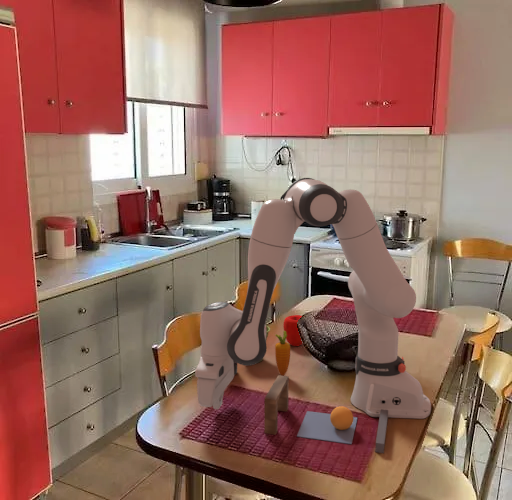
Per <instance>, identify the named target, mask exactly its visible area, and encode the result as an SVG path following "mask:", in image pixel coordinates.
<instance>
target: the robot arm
mask: <svg viewBox="0 0 512 500" xmlns="http://www.w3.org/2000/svg"><path fill="white" fill-rule="evenodd" d="M304 222H306V224H309V225H311V226H314V227H325V226H329V225H332V227H333V228H334V232H335V234H336V236H337V237H336V238H337V239H338V241H339V244H340V247H341V250H342V251H343V254H344V257H345V260H346V262H347V263H348V266H350V267H351V269H352V271H351V272H350V274H349V277H348V280H347V286H348V289H349V292H350V294H351V296H352V299H353V304H354V310H355V314H356V321H357V328H358V329H357V331H358V332H357V333H358V336H357V337H358V340H357V342H358V345H357V353H356V356H355V374H356V375H355V381H354V386H353V390H352V393H351V397H350V403H351V404H352V405H353V406H354V407H356V408H357V409H359V410H361V411H363V412H365V414H367V415H368V416H369V417H372V418H380V411H381V409H383V410H388V418H396V419H397V418H398V419H399V418H400V419H418V420H419V419H426V418H428V417H429V416H430V415H431V412H432V405H431V400H430V398H429V397H428V396H427V395H425V394H424V390H423V387H422V385H421V383H420V381H419V380H418V379H417V378H415V377H414V376H413V375H412V374H411V373H409V372H408V371H407V369H406V368H407V366H406V364H405V359H404V357H403V356H401V357H400V355H398V354H399V353H398V352H399V351H398V349H399V334H400V333H399V329H398V326H397V324H396V322H395V319H401V318H404V317H407V316H408V315H410V314H411V312H412V311H413V310H414V308H415V307H416V303H417V293H416V292H415V290H414V287H412V286H411V284H410V283H408V281H407V280H406V277H404V275H403V273H402V271H401V270H400V268H399V266H398V265H397V263H396V261H395V260H394V258H393V256H392V255H391V253H390V252H389V250H388V248H387V245H386V244H385V241H384V239H383V236H382V234H381V230H380V228H379V226H378V223H377V219H376V217H375V215H374V213H373V210H372V209H371V206H370V205H369V202H367V200H366V198H365V197H364V195H363V194H362V193H361V192H360V191H359V190H357V189H351V188H350V189H344V190H341V191H339V192H338V191H337V190H336V189H334V188H333V186H332V187H331V186H330V185H328V184H326V183H325V182H324V181H321V180H317V179H314V178H310V177H303V178H299V179H296V180H295V181H294V182H292V184H290V185H289V187H288V188H287V189H286V191H285V192H284V193H283V194H282V195H281V196H280V199H279V198H272V199H268V200H266V201H265V202H264V203H263V204H262V205H261V206H260V209H259V211H258V214H257V216H256V218H255V221H254V225H253V228H252V230H251V236H250V239H249V244H248V251H247V254H248V255H247V278H248V279H247V290H246V291H247V292H246V296H245V300H244V306H243V309H242V310H241V309H238V308H236V307H234V306H233V305H231V304H230V303H229V302H226V301H216V302H213V303H212V302H211V303H210V304H208V305H206V306H205V307H204V308H203V309H202V310H201V314H200V321H199V322H200V325H199V327H200V328H199V336H200V339H201V345H200V346H201V347H200V357H199V360H198V361H199V362H198V364H197V366H196V368H195V371H194V372H195V373H194V374H195V377H196V378H197V380H196V388H197V389H196V391H197V402H198V404H199V406H201V407H204V408H213V409H214V410H219V409H220V408H221V406H222V405H223V399H224V393H225V390H226V389H227V388H228V386H229V385H230V383H231V382H232V381H233V379H234V377H235V375H234V362H233V360H234V361H235V362H236V363H237V365H238V364H239V365H241V366H253V365H256V364H258V363H260V361H261V360H262V359H263V360H264V357H265V355H266V354H267V340H266V331H267V327H266V325H267V323H266V322H267V317H268V313H269V308H270V305H271V301H272V297H273V294H274V292H275V288H276V286H277V284H278V282H279V280H280V277H281V275H282V274H283V271H284V269H285V267H286V265H287V262H288V260H289V256H290V254H291V251H292V246H293V243H294V237H295V235H296V232H297V230H298V229H299V227H300V226H301V225H302V224H303V223H304ZM263 360H262V361H263ZM262 361H261V362H262Z"/></svg>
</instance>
